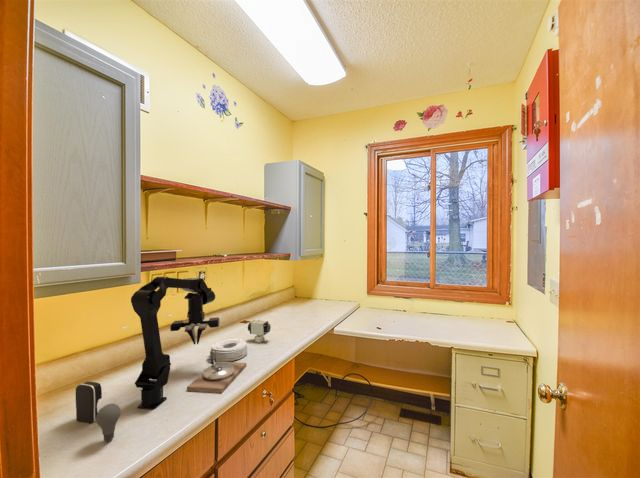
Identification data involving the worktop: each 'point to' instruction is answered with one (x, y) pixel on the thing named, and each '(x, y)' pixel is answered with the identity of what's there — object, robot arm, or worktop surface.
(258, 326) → the pneumatic valve
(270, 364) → the worktop surface
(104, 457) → the worktop surface
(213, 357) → the metal disc with handle
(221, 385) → the board
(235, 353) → the cable
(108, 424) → the light bulb
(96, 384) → the battery charger
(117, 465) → the worktop surface
